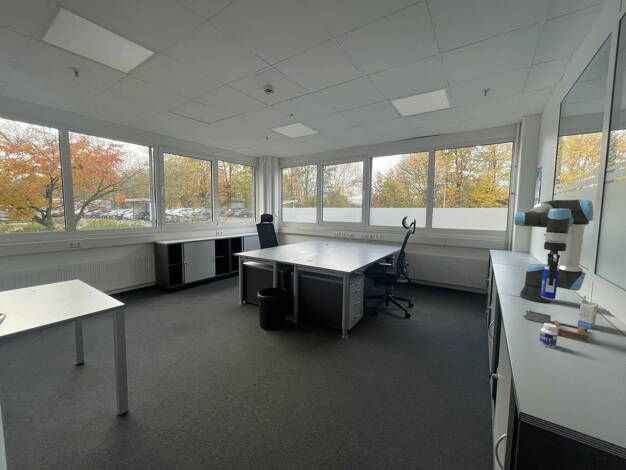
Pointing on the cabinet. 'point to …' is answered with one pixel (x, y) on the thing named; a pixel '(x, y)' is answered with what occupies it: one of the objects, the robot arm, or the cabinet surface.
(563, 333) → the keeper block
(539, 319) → the latch block with knob
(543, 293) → the beverage can
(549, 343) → the pill bottle
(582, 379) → the cabinet surface
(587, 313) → the ink box
